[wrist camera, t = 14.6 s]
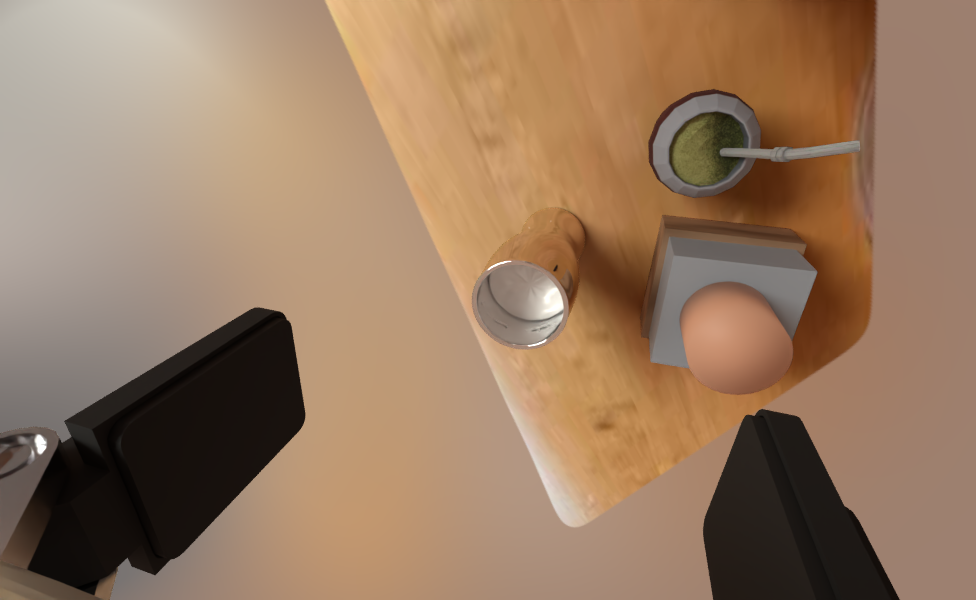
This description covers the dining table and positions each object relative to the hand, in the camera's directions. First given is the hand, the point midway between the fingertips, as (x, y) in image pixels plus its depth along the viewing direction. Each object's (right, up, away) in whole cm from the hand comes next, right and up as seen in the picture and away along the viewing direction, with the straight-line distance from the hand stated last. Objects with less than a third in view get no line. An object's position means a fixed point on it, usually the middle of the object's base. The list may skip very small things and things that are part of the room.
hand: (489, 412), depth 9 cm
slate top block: (+19, +3, +28) cm, 34 cm away
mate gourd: (+17, +15, +27) cm, 35 cm away
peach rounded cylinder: (+17, +1, +24) cm, 29 cm away
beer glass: (+6, +8, +34) cm, 35 cm away
